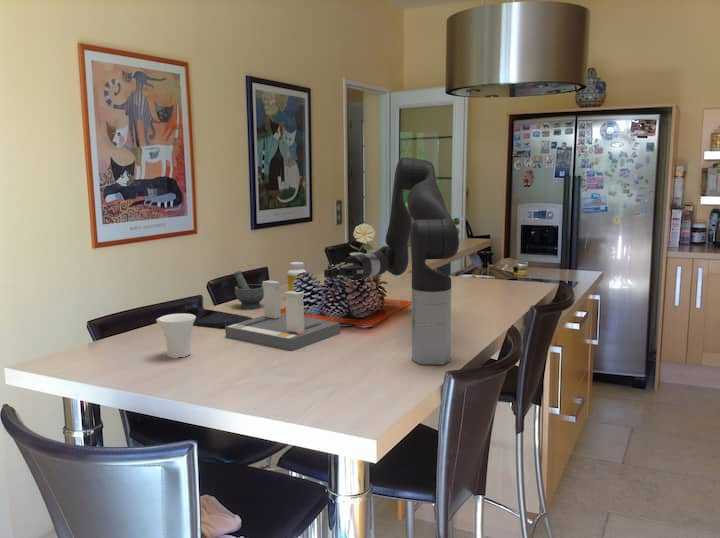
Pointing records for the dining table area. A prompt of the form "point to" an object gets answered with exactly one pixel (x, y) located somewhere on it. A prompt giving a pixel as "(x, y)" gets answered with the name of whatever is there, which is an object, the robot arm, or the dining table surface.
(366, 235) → the flower in vase
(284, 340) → the grey flat block
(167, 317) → the cup
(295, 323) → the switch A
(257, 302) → the mortar and pestle
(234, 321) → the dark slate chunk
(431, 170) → the robot arm
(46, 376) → the dining table surface
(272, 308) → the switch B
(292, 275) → the supplement bottle
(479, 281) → the dining table surface
